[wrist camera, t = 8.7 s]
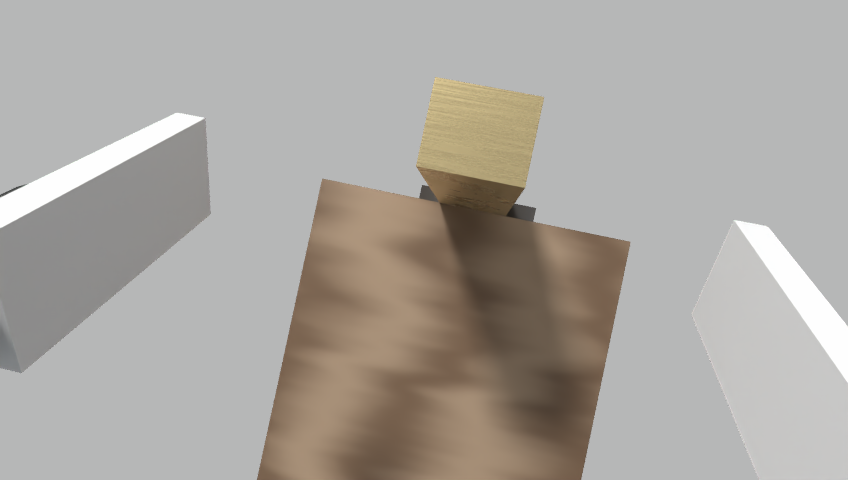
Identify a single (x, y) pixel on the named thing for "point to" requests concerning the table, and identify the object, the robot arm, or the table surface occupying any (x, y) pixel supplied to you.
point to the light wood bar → (478, 145)
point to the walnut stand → (441, 343)
